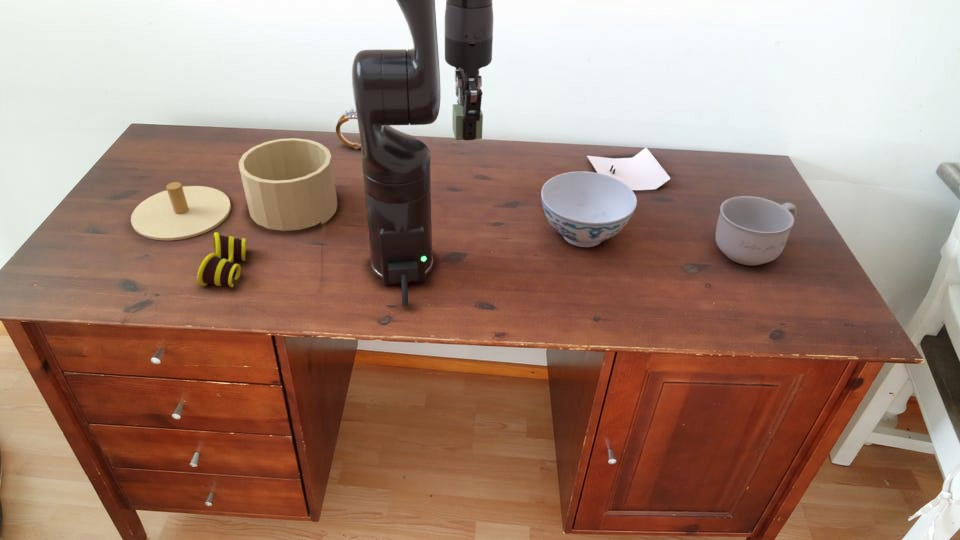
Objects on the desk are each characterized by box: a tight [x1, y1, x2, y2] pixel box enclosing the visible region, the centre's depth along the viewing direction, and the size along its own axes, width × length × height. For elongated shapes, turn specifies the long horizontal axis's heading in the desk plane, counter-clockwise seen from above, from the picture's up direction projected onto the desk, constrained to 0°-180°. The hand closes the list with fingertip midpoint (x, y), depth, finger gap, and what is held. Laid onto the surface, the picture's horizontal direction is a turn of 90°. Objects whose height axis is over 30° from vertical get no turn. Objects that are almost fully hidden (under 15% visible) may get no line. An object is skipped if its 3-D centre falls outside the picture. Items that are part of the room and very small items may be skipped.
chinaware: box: [540, 170, 638, 248], centre depth 106 cm, size 15×15×8 cm
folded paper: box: [586, 147, 671, 191], centre depth 123 cm, size 12×12×2 cm
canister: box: [238, 137, 338, 232], centre depth 109 cm, size 14×15×10 cm
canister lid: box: [130, 181, 232, 242], centre depth 107 cm, size 15×15×6 cm
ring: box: [335, 107, 361, 150], centre depth 126 cm, size 7×3×8 cm, turn 82°
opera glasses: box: [196, 231, 247, 288], centre depth 97 cm, size 10×5×5 cm, turn 4°
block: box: [452, 103, 484, 141], centre depth 111 cm, size 4×4×4 cm
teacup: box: [715, 195, 798, 266], centre depth 104 cm, size 14×11×8 cm
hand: (467, 132), depth 112 cm, fingers closed on block, 4 cm apart
